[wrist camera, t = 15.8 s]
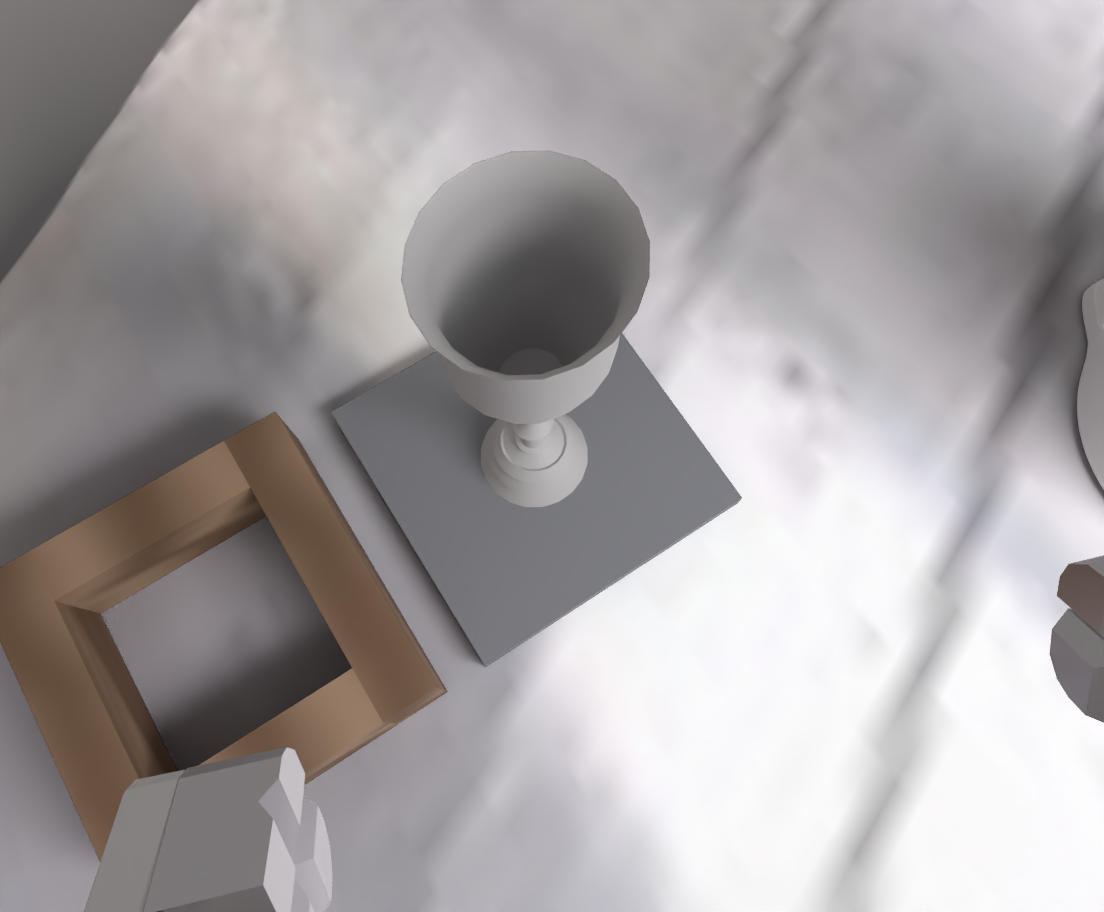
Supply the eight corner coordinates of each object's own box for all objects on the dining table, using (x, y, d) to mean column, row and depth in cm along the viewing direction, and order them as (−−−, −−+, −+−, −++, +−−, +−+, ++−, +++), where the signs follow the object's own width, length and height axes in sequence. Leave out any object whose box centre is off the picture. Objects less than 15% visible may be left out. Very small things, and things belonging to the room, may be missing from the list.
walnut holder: (299, 440, 43) (275, 411, 39) (447, 691, 40) (436, 687, 36) (27, 597, 41) (-27, 583, 37) (159, 878, 37) (115, 895, 33)
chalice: (506, 360, 43) (481, 114, 26) (633, 421, 42) (692, 207, 25) (433, 490, 41) (352, 316, 24) (563, 556, 40) (576, 424, 23)
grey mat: (575, 280, 46) (576, 270, 45) (737, 503, 42) (741, 497, 41) (335, 419, 43) (330, 412, 42) (485, 666, 40) (484, 665, 39)
